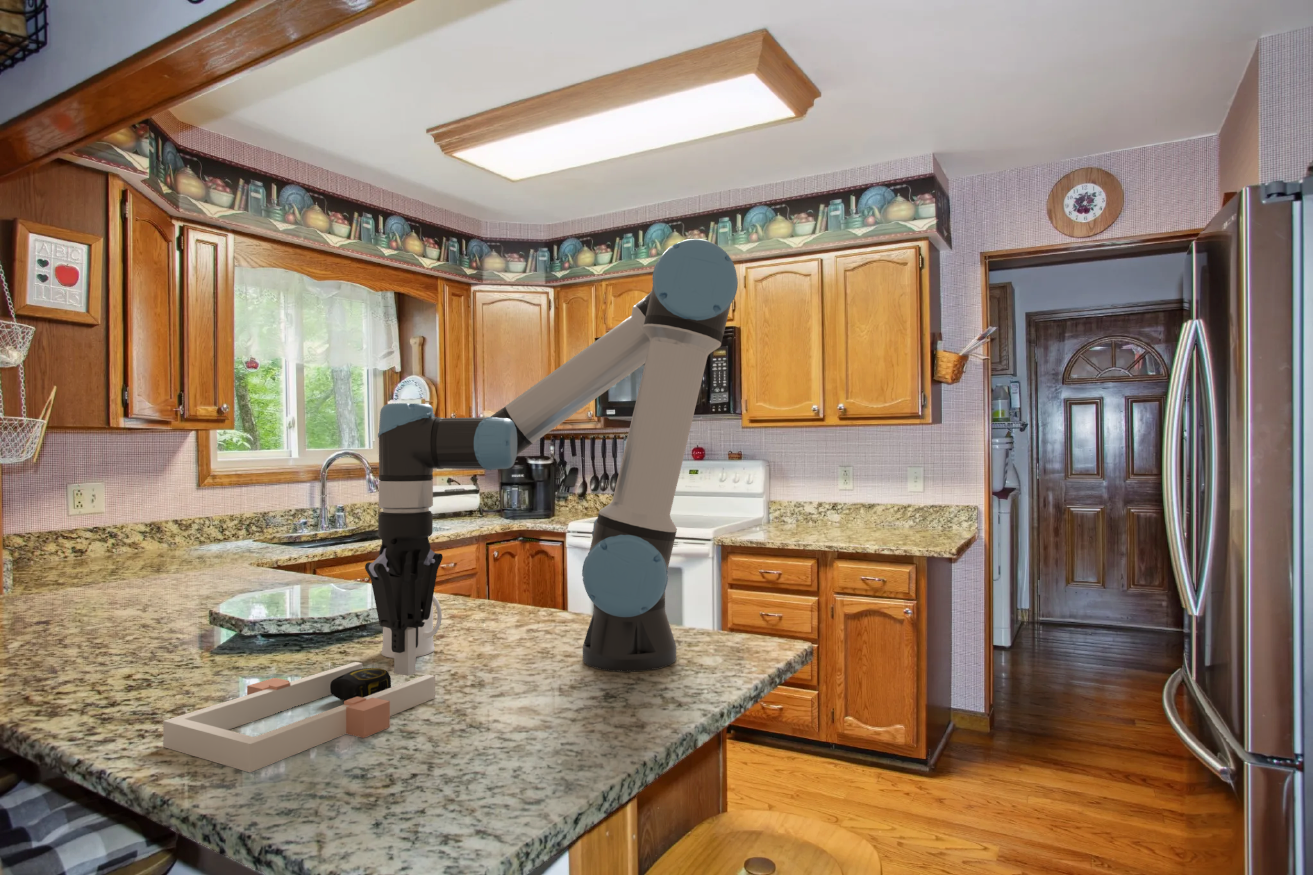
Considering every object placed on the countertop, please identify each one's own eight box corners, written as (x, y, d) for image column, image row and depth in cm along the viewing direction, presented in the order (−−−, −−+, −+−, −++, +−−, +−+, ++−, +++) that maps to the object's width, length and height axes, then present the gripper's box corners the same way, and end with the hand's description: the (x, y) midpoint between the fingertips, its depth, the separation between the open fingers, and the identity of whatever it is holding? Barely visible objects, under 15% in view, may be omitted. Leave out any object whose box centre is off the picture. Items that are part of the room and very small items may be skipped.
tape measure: (327, 702, 106) (327, 674, 106) (374, 690, 111) (374, 663, 111) (353, 713, 102) (353, 684, 102) (400, 699, 107) (400, 672, 107)
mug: (457, 653, 130) (457, 581, 131) (414, 664, 124) (414, 588, 124) (413, 642, 137) (413, 574, 138) (370, 653, 130) (370, 581, 131)
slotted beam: (451, 701, 106) (451, 675, 106) (268, 777, 81) (268, 745, 81) (340, 679, 116) (341, 656, 116) (148, 742, 91) (148, 713, 91)
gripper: (419, 505, 121) (419, 658, 120) (351, 512, 109) (350, 681, 109) (456, 507, 117) (456, 665, 117) (389, 514, 106) (388, 689, 105)
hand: (404, 672), depth 113 cm, fingers closed
